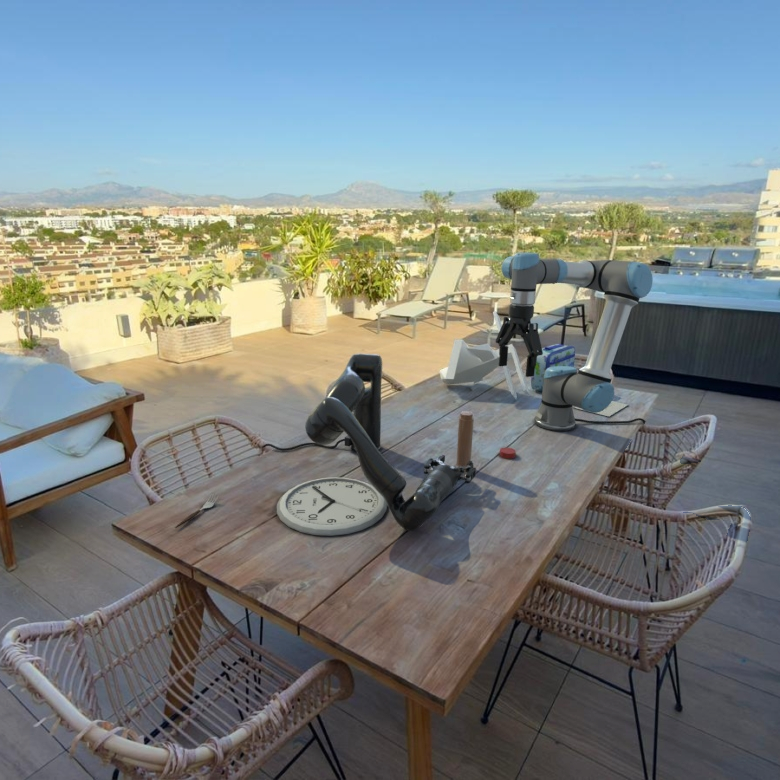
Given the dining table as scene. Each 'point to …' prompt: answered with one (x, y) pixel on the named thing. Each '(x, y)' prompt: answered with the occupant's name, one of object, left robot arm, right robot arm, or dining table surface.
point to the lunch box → (551, 362)
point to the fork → (206, 505)
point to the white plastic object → (479, 363)
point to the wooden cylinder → (465, 438)
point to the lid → (507, 453)
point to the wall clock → (331, 506)
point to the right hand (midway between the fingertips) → (515, 370)
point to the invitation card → (610, 408)
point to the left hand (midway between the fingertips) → (457, 460)
